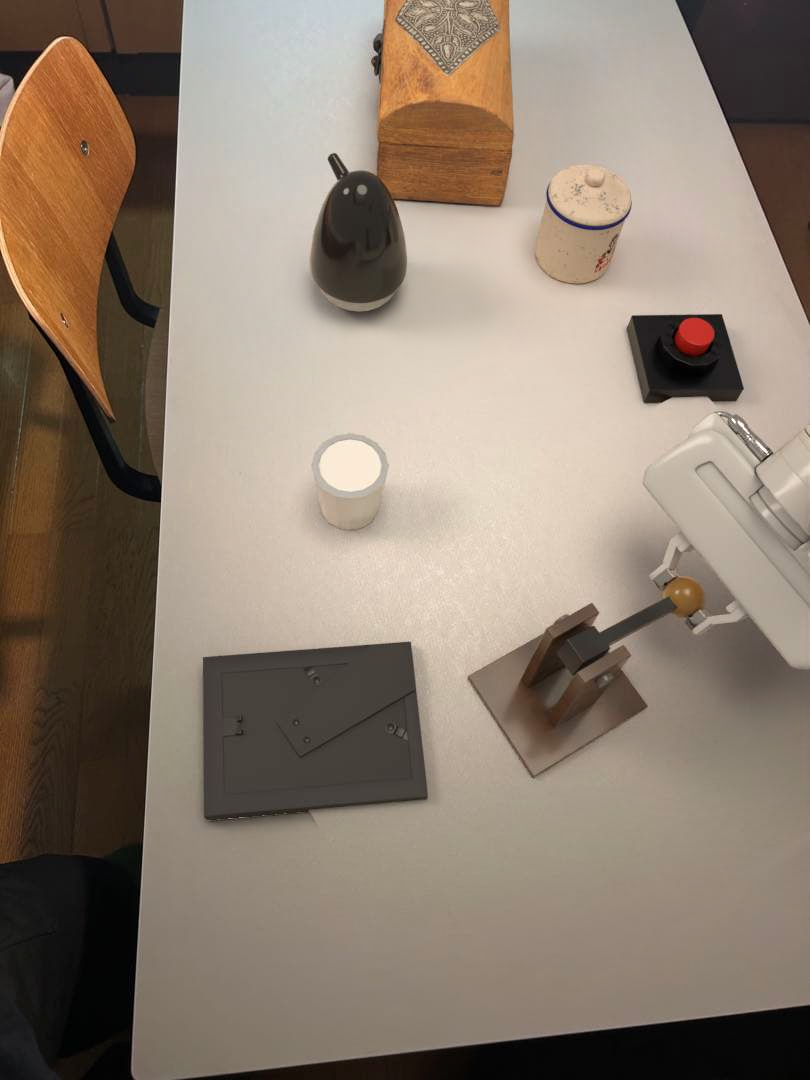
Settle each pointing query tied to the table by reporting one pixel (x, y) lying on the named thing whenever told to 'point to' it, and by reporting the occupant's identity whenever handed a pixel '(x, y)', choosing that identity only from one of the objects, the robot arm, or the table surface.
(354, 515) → the white cylinder
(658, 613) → the rod
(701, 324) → the button
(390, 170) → the wooden box
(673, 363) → the button box
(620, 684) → the bracket
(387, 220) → the pump dispenser
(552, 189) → the teacup with lid
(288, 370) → the table surface
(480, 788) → the table surface
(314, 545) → the table surface
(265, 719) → the picture frame
